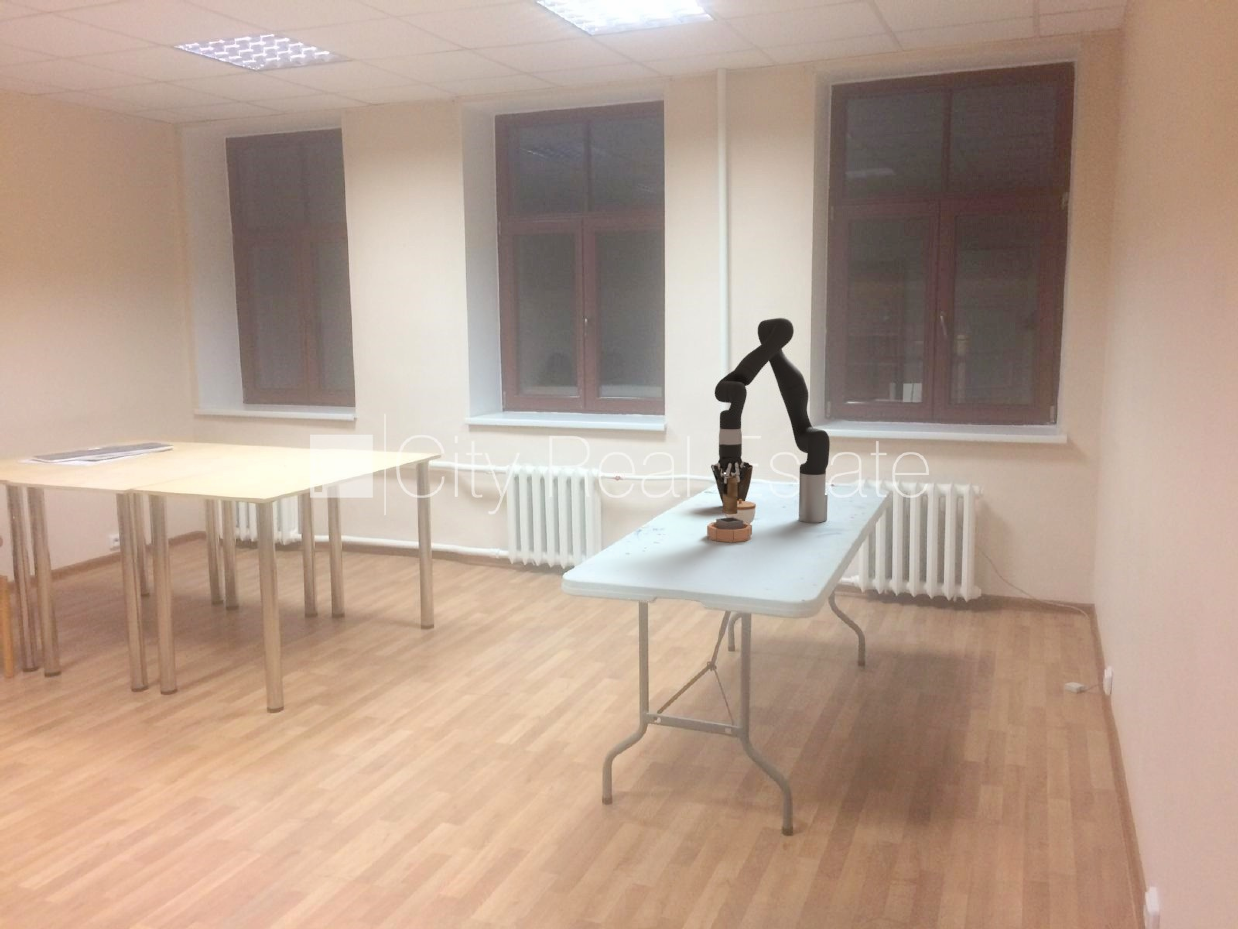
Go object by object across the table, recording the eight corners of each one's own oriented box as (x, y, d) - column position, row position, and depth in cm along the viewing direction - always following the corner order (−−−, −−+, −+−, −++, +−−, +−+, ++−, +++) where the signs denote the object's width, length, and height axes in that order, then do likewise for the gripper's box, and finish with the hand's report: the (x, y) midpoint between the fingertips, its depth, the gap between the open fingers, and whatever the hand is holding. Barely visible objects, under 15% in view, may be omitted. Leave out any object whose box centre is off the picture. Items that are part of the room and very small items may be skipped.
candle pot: (736, 531, 333) (736, 513, 332) (758, 539, 320) (759, 521, 319) (700, 535, 327) (700, 517, 326) (722, 544, 314) (722, 526, 314)
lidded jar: (754, 529, 335) (754, 502, 334) (723, 528, 338) (723, 501, 336) (756, 522, 346) (756, 496, 344) (726, 521, 348) (726, 496, 346)
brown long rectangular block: (731, 511, 325) (731, 476, 323) (737, 513, 321) (737, 477, 320) (722, 512, 323) (722, 477, 321) (728, 514, 320) (728, 478, 318)
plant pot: (733, 512, 363) (733, 470, 361) (705, 506, 375) (705, 465, 372) (760, 507, 373) (761, 466, 370) (732, 501, 384) (733, 461, 382)
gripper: (742, 439, 325) (741, 489, 328) (705, 442, 319) (705, 493, 322) (754, 441, 318) (754, 493, 321) (717, 444, 312) (717, 497, 315)
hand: (729, 493), depth 321 cm, fingers closed on brown long rectangular block, 3 cm apart
